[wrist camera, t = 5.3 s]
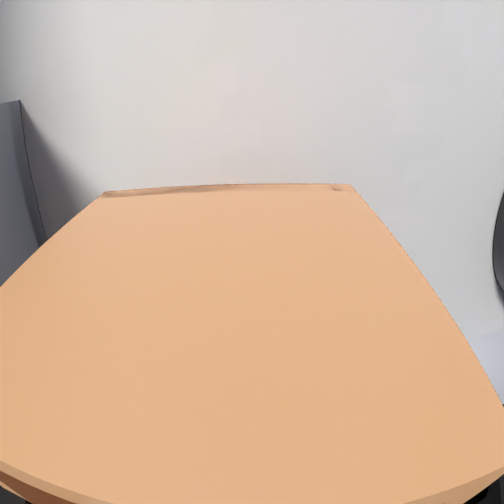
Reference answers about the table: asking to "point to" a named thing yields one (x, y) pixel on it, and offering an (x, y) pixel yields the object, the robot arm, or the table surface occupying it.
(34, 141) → the table surface
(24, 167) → the large crate
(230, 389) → the small crate
